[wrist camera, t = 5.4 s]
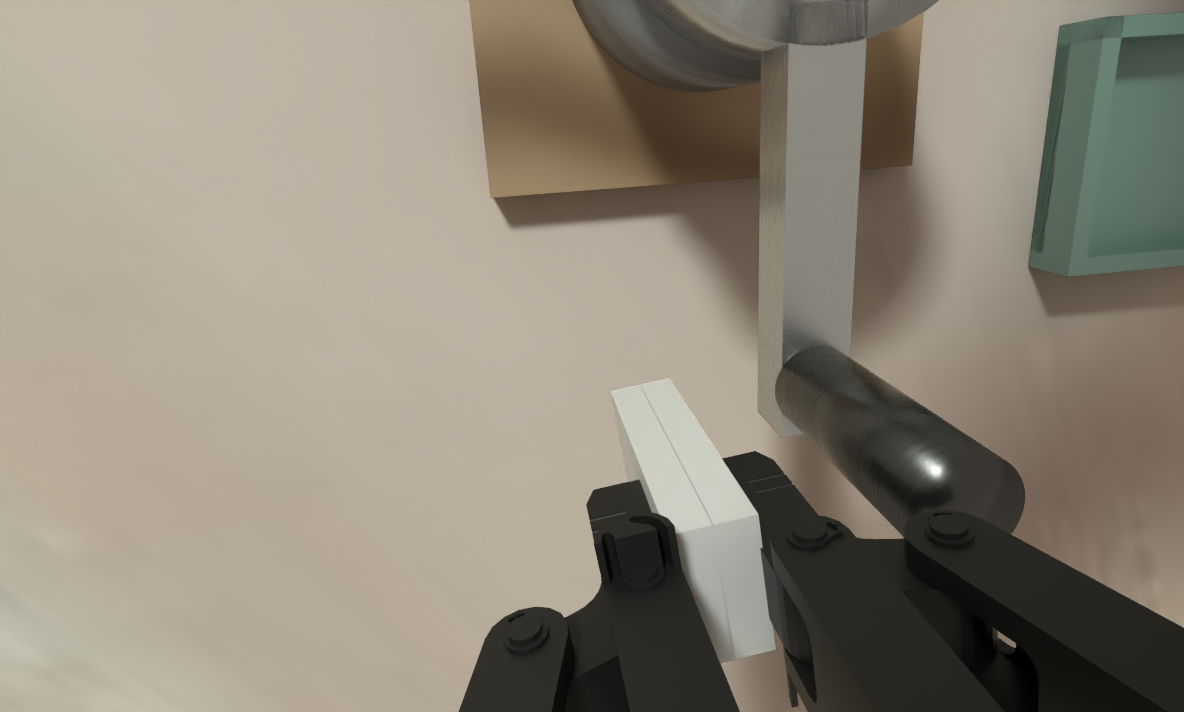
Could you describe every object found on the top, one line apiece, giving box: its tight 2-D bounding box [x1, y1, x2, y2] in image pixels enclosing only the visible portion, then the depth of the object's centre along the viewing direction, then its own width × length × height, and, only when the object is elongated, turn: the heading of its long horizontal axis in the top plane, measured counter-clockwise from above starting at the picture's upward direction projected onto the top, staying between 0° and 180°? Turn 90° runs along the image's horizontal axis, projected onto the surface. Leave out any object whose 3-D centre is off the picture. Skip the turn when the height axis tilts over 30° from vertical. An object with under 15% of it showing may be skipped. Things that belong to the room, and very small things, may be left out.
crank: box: [641, 0, 1025, 537], centre depth 16 cm, size 20×10×11 cm, turn 4°
